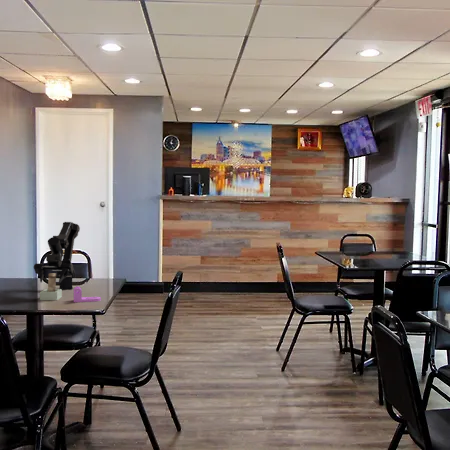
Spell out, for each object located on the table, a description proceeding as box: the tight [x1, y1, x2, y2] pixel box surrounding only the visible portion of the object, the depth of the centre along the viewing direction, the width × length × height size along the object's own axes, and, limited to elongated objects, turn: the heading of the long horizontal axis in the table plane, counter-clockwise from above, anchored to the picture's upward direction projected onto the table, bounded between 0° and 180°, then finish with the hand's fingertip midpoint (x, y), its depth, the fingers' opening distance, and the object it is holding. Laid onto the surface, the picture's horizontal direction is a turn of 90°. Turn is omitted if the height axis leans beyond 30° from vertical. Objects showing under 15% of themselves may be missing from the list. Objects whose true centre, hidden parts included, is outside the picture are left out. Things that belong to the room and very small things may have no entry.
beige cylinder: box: [47, 272, 57, 292], centre depth 255 cm, size 4×4×12 cm
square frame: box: [39, 288, 63, 301], centre depth 255 cm, size 8×8×4 cm
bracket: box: [73, 285, 102, 303], centre depth 251 cm, size 13×6×7 cm, turn 107°
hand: (50, 282), depth 253 cm, fingers open, 9 cm apart
